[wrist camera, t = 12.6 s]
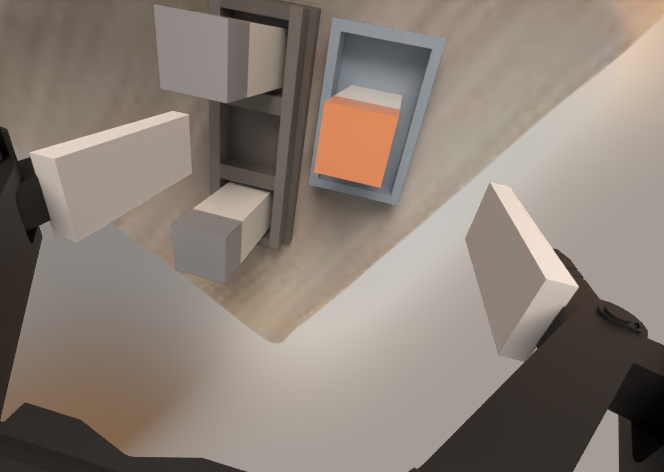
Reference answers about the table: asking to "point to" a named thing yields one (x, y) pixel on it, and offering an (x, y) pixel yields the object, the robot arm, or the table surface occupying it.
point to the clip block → (267, 116)
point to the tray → (383, 75)
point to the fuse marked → (357, 134)
